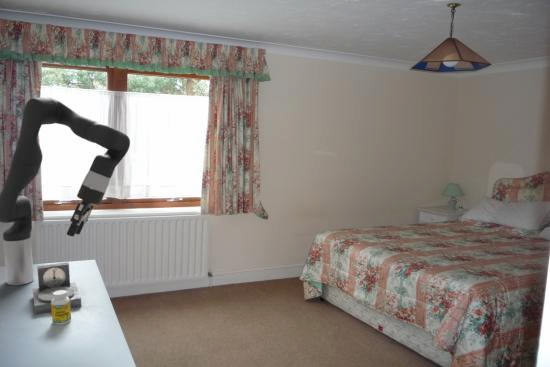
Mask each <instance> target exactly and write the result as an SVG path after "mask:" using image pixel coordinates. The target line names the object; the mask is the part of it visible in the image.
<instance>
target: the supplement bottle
mask: <svg viewBox="0 0 550 367" xmlns="http://www.w3.org/2000/svg"><path fill="white" fill-rule="evenodd" d="M66 296H67V291H65V290H59V291H55V292H54V293H53V298H54V299H53V300H52V301H51V309H52V312H51V318H52V319H51V320H52V324H53V325H56V326H61V325H66V324H68V323H69V322H71V321H72V310H71V309H70V299H69V298H68V297H66Z"/></svg>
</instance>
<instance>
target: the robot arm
mask: <svg viewBox="0 0 550 367" xmlns="http://www.w3.org/2000/svg"><path fill="white" fill-rule="evenodd" d="M21 119H22V120H21V126H20V132H19V135H18V139H17V143H16V146H15V150H14V153H13V156H12V159H11V163H10V167H9V170H8V174H7V177H6V180H5V182H4V185H3V188H2V190H1V191H0V222H1V223H4V224H5V223H12V222H13V224H12V225H10V227H9V228H7V229H6V230H5V231H3V233H2V240H3V250H4V253H3V254H4V265H5V266H4V267H5V277H6V284H7V286H22V285H26V284H29V283H32V282H33V281H34V280H35V277H34V263H33V250H32V236H31V234H32V229H33V225H32V224H33V221H32V220H33V218H32V217H33V215H32V214H33V209H32V204H31V201H30V200H29V198H28V197H27V196H25V195H20V194H21V193H22V192H23V191H24V189H25V188H26V187H27V186H28V185H29V184H30V183H32V182H33V180H34V179H35V178H36V177H37V175H38V174H39V171H40V168H41V165H42V162H43V152H42V149H41V147H40V143H39V141H38V138H39V133H40V130H41V127H42V126H43V125H44V126H45V125H54V124H57V125H63V126H65V127H67V128H69V129H70V130H71V132H72V133H73V134H74V135H76V136H77V137H79V138H81V139H83V140H85V141H87V142H90V143H93V144H96V145H97V146H99V147H101V148H104V149H106V152H105V153H104V154H103V155H101V154H98V155H96V156H95V157H94V159H93V161H92V163H91V166H90V168H89V170H88V172H87V173H86V175H85V177H84V179H83V181H82V183H81V185H80V188H79V190H78V192H77V194H76V197H77V198H78V199H81V203H80V202H78V203H77V205H76V206H75V210H74V212H73V214H72V216H71V217H70V220H69V222H70V224H69V225H70V226H69V228H68V229H67V232H66V235H67V236H69V237H72V238H73V237H75V235H81V232H82V230H83V228H84V225H85V224H86V223H87V222H88V221H89V218H90V215H91V213H92V211H93V209H94V207H95V206H94V205H96V206H99V205H101V203H102V201H103V199H104V197H105V194H106V191H107V189H108V187H109V184H110V181H111V178H112V176H113V174H114V171H115V170H116V167H117V166H119V164H120V163H121V161H122V160H123V159H124V157H125V156H126V155H127V153H128V151H129V149H130V146H131V139H130V137H129V136H128V135H127V134H125V133H124V132H122V131H120V130H119V129H117V128H115V127H112V126H110V125H108V124H107V125H106V124H103V123H101V122H98V121H96V120H94V119H92V118H89V117H87V116H84V115H83V114H80V113H78V112H76V111H75V110H73V109H71V107H69V106H68V105H65V104H64V103H63V102H61V101H60V100H58V99H56V98H53V97H32V98H30V99H28V100H27V102H26V104H25V106H24V108H23V114H22V118H21Z"/></svg>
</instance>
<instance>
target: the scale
mask: <svg viewBox="0 0 550 367" xmlns="http://www.w3.org/2000/svg"><path fill="white" fill-rule="evenodd" d="M70 277H71V276H70V264H69V262H68V261H67V262H66V261H65V262H59V263H51V264H45V265H37V280H38V288H37V287H35V288H32V297H33V308H34V315H42V314H46V313H52V309H51V301H52V300H53V299H54V298H53V293H54V292H55V291H59V290H65V291H67V296H66V297H68V298H69V299H70V310H71V309H76V308H82V297H81V295H80V292H79V289H78V287H77V284H76V282H71V278H70Z"/></svg>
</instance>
